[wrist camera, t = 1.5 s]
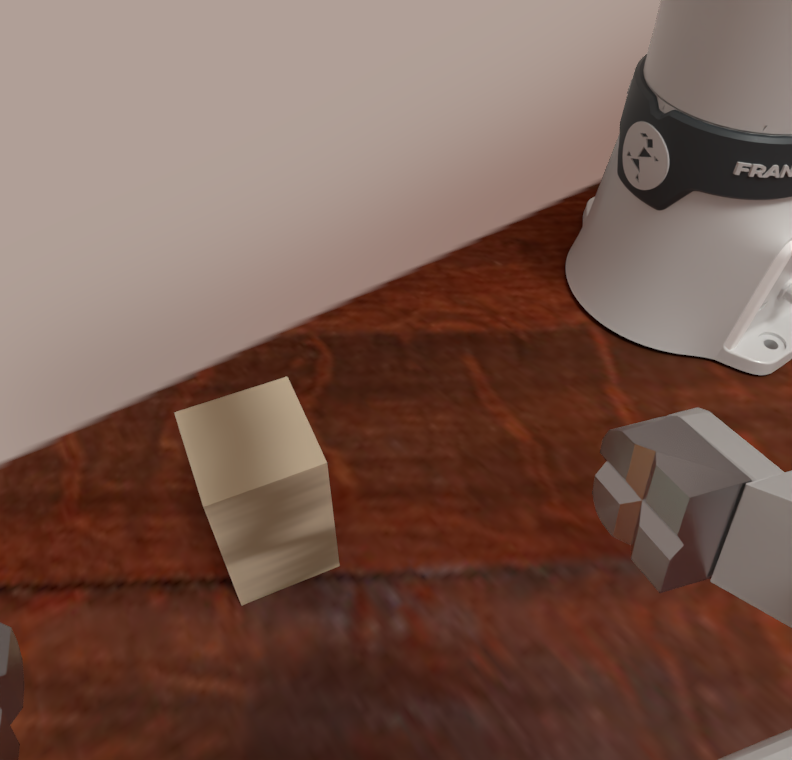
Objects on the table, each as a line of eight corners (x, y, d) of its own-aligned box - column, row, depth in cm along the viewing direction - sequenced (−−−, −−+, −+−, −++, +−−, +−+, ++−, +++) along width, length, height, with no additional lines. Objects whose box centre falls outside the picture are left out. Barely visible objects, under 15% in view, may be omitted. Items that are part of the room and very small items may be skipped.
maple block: (305, 487, 38) (287, 376, 31) (339, 566, 35) (326, 462, 28) (214, 520, 37) (174, 412, 30) (241, 605, 34) (203, 506, 27)
